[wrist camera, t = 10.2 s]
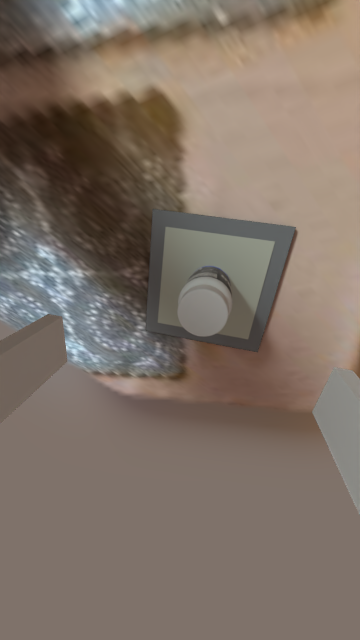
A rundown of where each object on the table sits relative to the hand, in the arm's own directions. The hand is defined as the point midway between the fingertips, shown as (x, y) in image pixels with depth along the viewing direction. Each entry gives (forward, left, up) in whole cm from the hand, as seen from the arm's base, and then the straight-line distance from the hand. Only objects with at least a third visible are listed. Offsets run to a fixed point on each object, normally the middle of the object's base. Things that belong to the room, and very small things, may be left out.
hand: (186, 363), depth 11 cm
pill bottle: (0, 0, -16) cm, 16 cm away
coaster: (0, 0, -16) cm, 16 cm away
